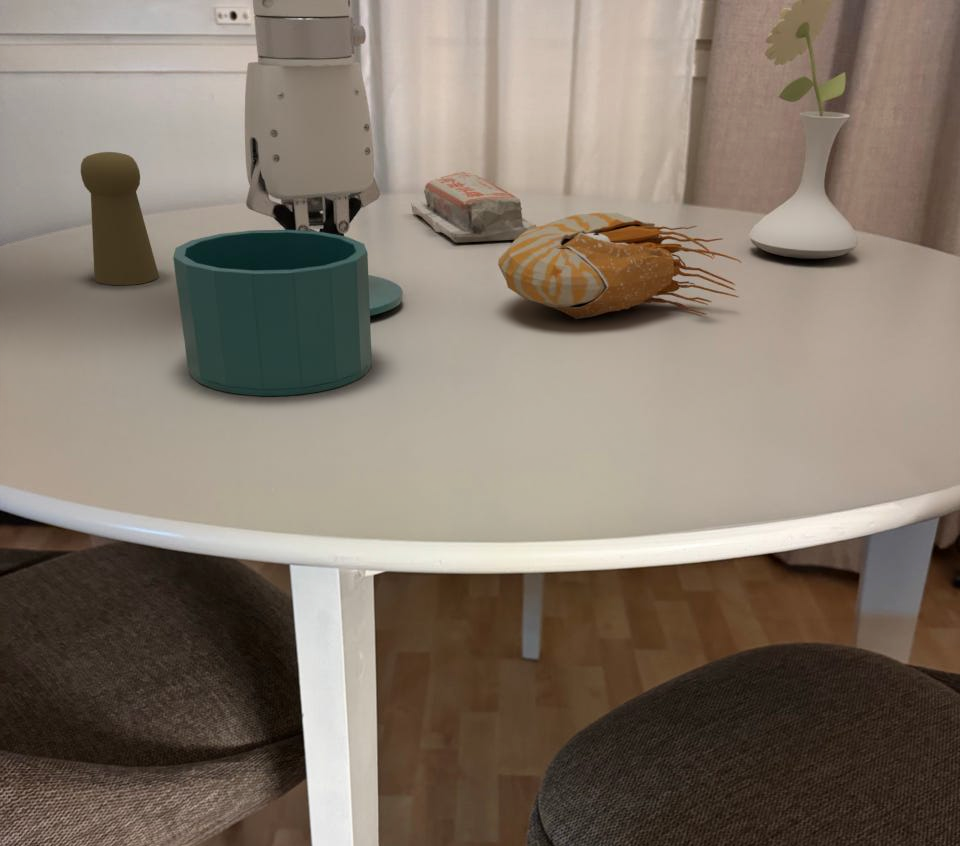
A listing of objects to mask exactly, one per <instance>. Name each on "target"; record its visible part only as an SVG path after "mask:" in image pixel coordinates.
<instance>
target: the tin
mask: <svg viewBox="0 0 960 846" xmlns="http://www.w3.org/2000/svg"><path fill="white" fill-rule="evenodd" d="M315 231H316V230H315ZM315 231H300V230H285V229H260V230H259V229H255V230H254V229H253V230H252V229H251V230H244V231H234V232H225V233H224V232H223V233H218V234H213V235H209V236H203V237H200V238H196V239H191V240H189V241H187V242H185V243H183V244H181V245H178V246H177V247H175V249H174V253H173V256H172V257H173V258H172V260H173V267H174V274H175V283H176V289H177V297H178V304H179V312H180V318H181V325H182V326H181V327H182V334H183V341H184V347H185V356H186V363H187V368H188V369H189V374H190V376H191V378H193V380H195V381H196V382H197V383H199V384H200V385H202V386H205V387H207V388H210V389H213V390H216V391H220V392H224V393H230V394H234V395H235V394H237V395H242V396H243V395H245V396H257V397H283V396H284V397H285V396H298V395H299V396H300V395H306V394H312V393H313V394H314V393H320V392H324V391H329V390H333V389H337V388H340V387H343V386H346V385H348V384H352V383H353V382H355V381H357V380H358V379H361V378H362V377H363V376H365V375H366V374H367V373H368V372H369V370H370V368H371V365H372V364H371V362H372V357H373V356H372V334H371V332H372V330H371V316H370V305H369V280H368V275H369V259H368V258H369V257H368V256H369V255H368V250H367V248H366V245H365V243H363V242H361V241H358V240H356V239H353V238H351V237H349V236H346V235H344V236H340V235H335V234H329V233H324V232H319V231H317V232H315Z"/></svg>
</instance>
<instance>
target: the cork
mask: <svg viewBox="0 0 960 846" xmlns="http://www.w3.org/2000/svg"><path fill="white" fill-rule="evenodd" d="M80 176H81V180H82V183H83V185H84V188H85V189H86V190H87V191H88V192H89V193H90V204H91V205H90V208H91V209H90V210H91V231H92V254H93V275H94V276H93V278H94V281H95V282H97V283H98V284H102V285H110V286H132V285H141V284H145V283H151V282H153V281H155V280H157V279H158V278H159V277H160V275H159V271H158V267H157V263H156V259H155V256H154V252H153V249H152V244H151V241H150V238H149V237H150V236H149V234H148V231H147V227H146V222H145V219H144V215H143V211H142V209H141V204H140V201H139V198H138V194H137V191H138V189H139V186H140V185H141V173H140V168H139V166H138V163H137V161H136V160H135V158H133V157H132V156H131V155H129V154H126V153H123V152H122V153H121V152H114V151H103V152H102V151H101V152H97V153H92V154H89V155H86V156H85V157H84V158H82V161H81V164H80Z"/></svg>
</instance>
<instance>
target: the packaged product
mask: <svg viewBox="0 0 960 846" xmlns="http://www.w3.org/2000/svg"><path fill="white" fill-rule="evenodd" d="M423 194H424V197H425V198H424V199H425V200H426V202H424V201H423V202H419V203H418V204H416V203H412V202H411V203H410V204H411V211H412V213H413V214H415V215H417V216H419V217H420V218H422V219H423V220H424V221H425V222H427V224H429V226H431V227H432V229H433V231H434V232H435V233H442V234H443V235H445V236H446V237H448V238H450V239H451V240H452V241H453V242H454V243H457V244H464V243H481V242H497V241H499V242H500V241H514V240H515V239H516V238H518V237H519V236H520V235H521V234H523V233H524V232H526V231H527V230H529V229H531V228H534V227H537V224H533V223H532V222H531V221H529V220H526V219H525V218H524V217H523V213H522V210H523V208H522V203H521V199H520V198H518V197H516V196H515V195H514V194H512V193H510V192H508V191H507V190H504V189H503V188H501V187H499V186H497V185H495V184H493V183H491V182H489V181H488V180H486V179H483V178H482V177H480V176H479V175H476V174H473V173H470V172H465V171H461V172H455V173H452V174H449V175H443V176H440V177H439V178H435V179H433V180H431V181H429V182H426V184H425V186H424V190H423Z"/></svg>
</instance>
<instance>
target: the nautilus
mask: <svg viewBox="0 0 960 846" xmlns="http://www.w3.org/2000/svg"><path fill="white" fill-rule="evenodd" d="M655 225H656V223H652V222H647V221H641V220H638V219H635V218H632V217H629V216H627V215H624V214H621V213H619V212H594V213H593V212H591V213H583V214H574V215H570V216H567V217H564V218H559V219H557V220H555V221H551V222H548V223H545V224H542V225H538V226H536V227H534V228H531V229H529V230H527V231H526V232H524V233H523V234H521V235H520V236H519V237H518V238H516V239H515V240H513V241H512V243H511V244H510V246H509V247H508V248H507V249H506V250H505V251H504V252H503V253H502V255H501V256H500V257H499V258H498V262H497V266H498V268H499V269H500V272H501V274H502V275H503V278H504V280H505V283H506V285H507V288H508V289H509V290H511V291H512V292H514V293H515V294H517V295H519V296H520V297H521V298H523V299H525V300H529V301H532V302H534V303H535V302H536V303H538V304H541V305H543V306H546V307H549V308H551V309H555V310H558V311H560V312H562V313H564V314H566V315H568V316H569V317H572V318H574V319H575V320H579V319H585V318H592V317H595V316H599V315H602V314H606V313H610V312H619V311H622V310H629V309H630V308H631V307H635V306H639V305H641V304H643V303H649V304H650V303H658V304H659V303H660V304H670V305H674V306H676V307H679V308H681V309H685V310H687V311H691V312H694V313H698V314H701V315H705V316H707V313H706V312H703V311H700V310H697V309H694V308H690V307H688V306H686V305H685V304H683V303H680V302H677V301H672V300H666V299H663V298H661V297H658V296H673V297H675V298H676V297H677V298H680V299H683V300H686V301H690V302H695V303H699V304H703V305H706V306H709V303H712V301H711V300H709V299H706V298H702V297H698V296H697V297H686V296H683V295H681V294H678V293H675V292H677V291H679V290H680V288H681V289H682V288H683V289H688V288H696V289H701V290H702V291H703V290H704V291H706V292H707V291H708V292H711V293H716V294H720V295H725V296H729V297H735V298H739V297H740V296H738V295H736V294H732V293H728V292H724V291H721V290H720V291H719V290H715V289H712V288H708V287H704V286H700V285H696V284H695V283H694V282H689V280H688V281H687V280H686V281H678V280H675V279H673V278H674V277H677V276H678V275H679V276H682V277H696V278H697V277H698V278H700V279H702V280H706V281H708V282H711V283H712V284H713V283H714V284H715V285H718V286H721V287H724V288H727V289H729V290H732V291H735V292H736V291H737V290H736V289H735V288H733V287H732V286H729V285H727V284H725V283H722V282H719V281H716V280H714V279H712V278H709V277H706V276H704V275H702V274H699V273H687V272H683V271H684V270H685V271H699V272H701V273H704V274H706V275H709V276H711V277H714V278H716V279H718V280H720V281H723V282H726V283H729V284H731V285H734V286H736V283H734V282H733V281H731V280H728V279H726V278H725V277H722V276H719V275H717V274H714V273H712V272H710V271H708V270H705V269H702V268H701V267H692V266H687V265H686V263H685V261H683V259H682V258H681V257H680V256H679V255H678V254H675V253H678V252H681V251H682V252H685V253H688V252H692V253H697V254H701V255H703V256H706V257H709V258H711V259H712V260H714V259H715V256H720V257H724V258H726V259H727V258H728V259H731V260H734V261H737V262H739V263H740V264H742V263H743V262H742V261H741V260H740V259H738V258H735V257H732V256H729V255H727V254H723V253H720V252H715V251H711V250H710V249H709V248H707V246H705V245H703V244H702V243H700V242H704V243H709V242H715V241H721V240H723V238H712V239H704V238H699V237H698V238H697V237H696V238H695V237H694V238H692V237H689V236H688V235H686V234H685V233H684V234H683V233H681V232H677V231H675V230H682V229H684V230H690V229H693V228H696V227H697V225H692V226H689V227H685V226H684V227H682V226H681V227H674V228H673V227H672V228H671V227H668V226H655ZM663 229H667V230H670V231H663ZM672 235H675V236H672ZM676 236H678V238H677V237H676ZM679 237H683V238H679ZM665 240H672V241H676V242H680V243H681V242H685V243H686V242H688V243H689V242H692V243H694V244H696V245H697V246H700V247H701V248H703V249H700V248H699V249H698V248H697V249H694V248H689V247H685V246H682V244H680V243H663V241H665ZM675 257H676V258H675ZM682 270H683V271H682ZM656 296H657V297H656ZM707 302H708V303H707Z"/></svg>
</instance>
